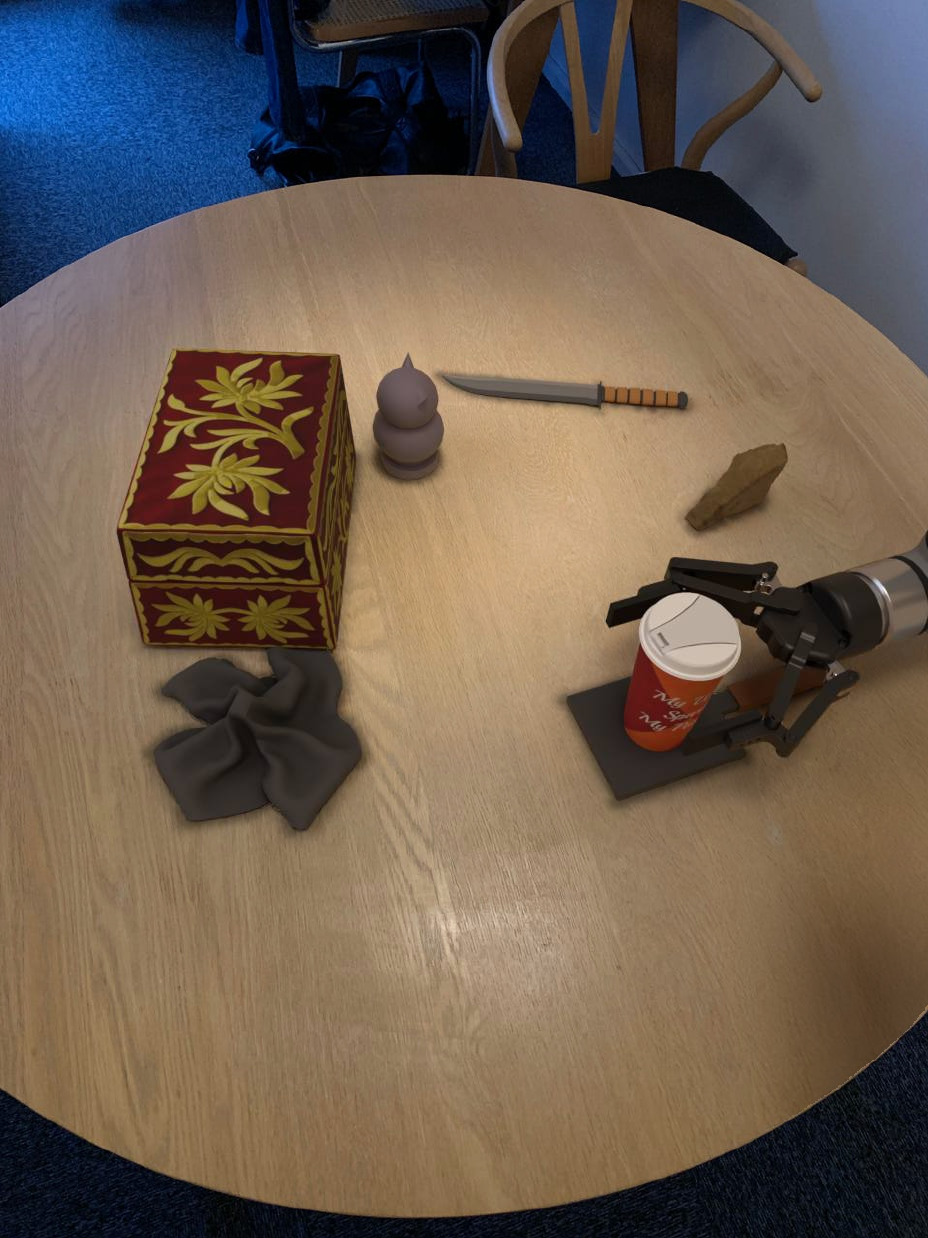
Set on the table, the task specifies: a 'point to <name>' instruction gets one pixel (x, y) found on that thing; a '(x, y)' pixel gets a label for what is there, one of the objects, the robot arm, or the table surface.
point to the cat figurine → (408, 422)
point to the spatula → (649, 769)
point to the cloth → (259, 737)
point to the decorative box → (242, 502)
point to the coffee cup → (678, 667)
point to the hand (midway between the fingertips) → (645, 677)
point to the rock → (740, 485)
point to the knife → (566, 391)
